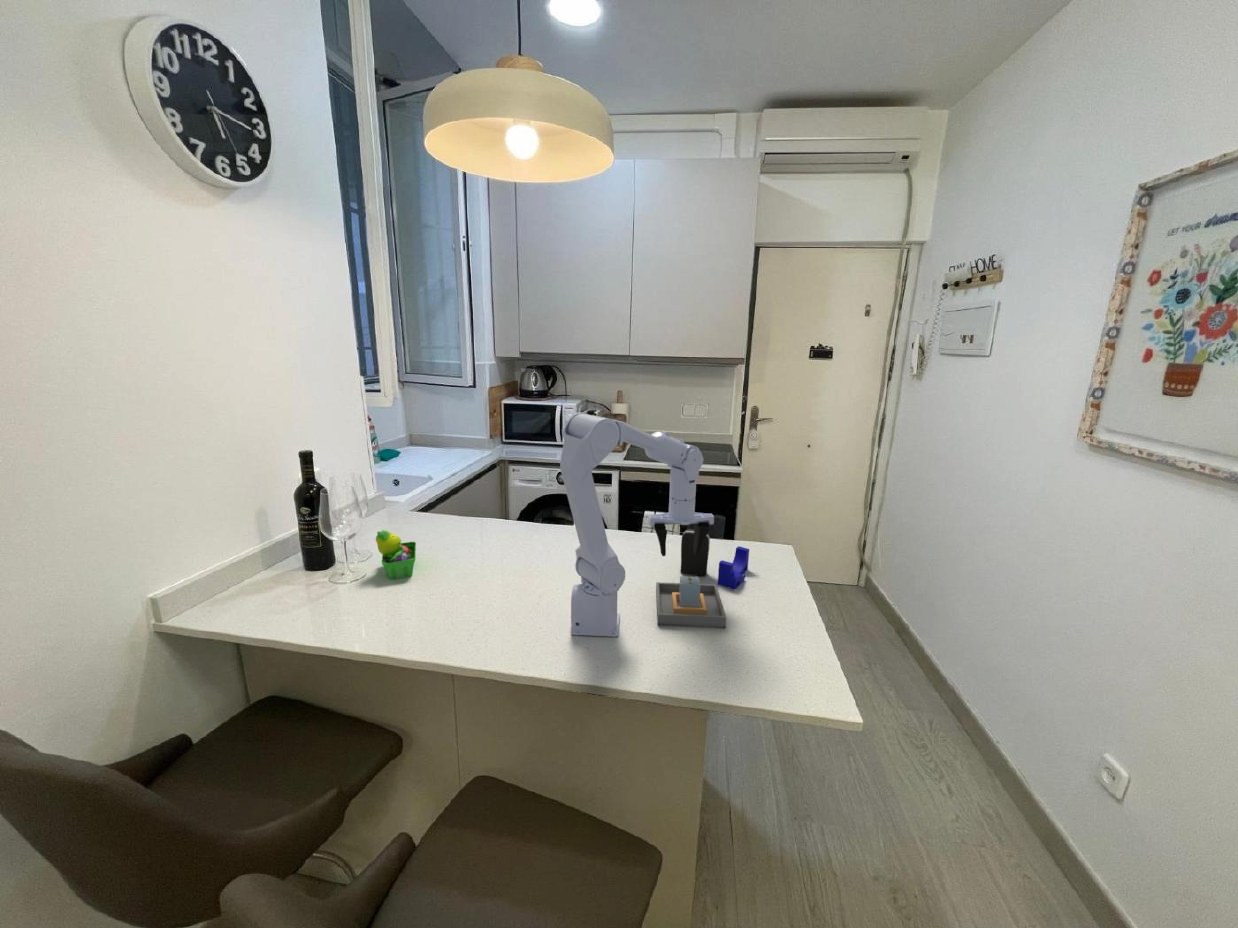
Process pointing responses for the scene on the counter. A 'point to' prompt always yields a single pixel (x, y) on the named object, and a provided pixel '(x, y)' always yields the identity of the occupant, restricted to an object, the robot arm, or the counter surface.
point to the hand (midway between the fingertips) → (679, 553)
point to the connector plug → (689, 591)
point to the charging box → (703, 616)
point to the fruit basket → (396, 554)
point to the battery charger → (689, 559)
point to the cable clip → (734, 569)
